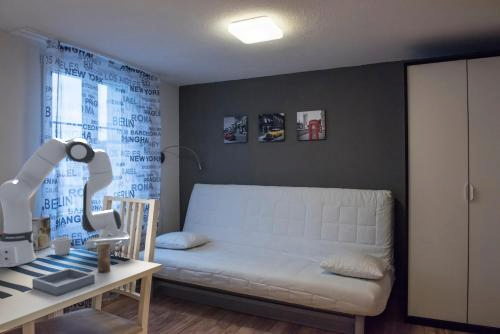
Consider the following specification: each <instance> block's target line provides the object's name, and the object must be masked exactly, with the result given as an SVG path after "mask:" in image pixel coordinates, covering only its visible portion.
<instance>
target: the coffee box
mask: <svg viewBox="0 0 500 334" xmlns="http://www.w3.org/2000/svg"><path fill="white" fill-rule="evenodd" d="M51 229H52V228H51V217H49V216H47V217H46V216H39V217H35V218H32V230H33V249H34V251H39V250H42V249H45V248H48V247H49V248H50V242H51V241H52V239H51V235H52V234H51V233H52V232H51V231H52V230H51Z"/></svg>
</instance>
